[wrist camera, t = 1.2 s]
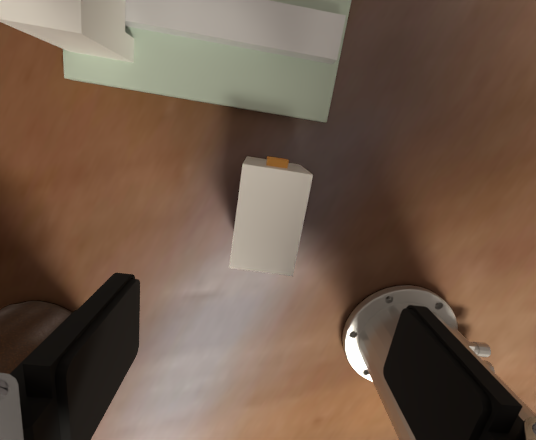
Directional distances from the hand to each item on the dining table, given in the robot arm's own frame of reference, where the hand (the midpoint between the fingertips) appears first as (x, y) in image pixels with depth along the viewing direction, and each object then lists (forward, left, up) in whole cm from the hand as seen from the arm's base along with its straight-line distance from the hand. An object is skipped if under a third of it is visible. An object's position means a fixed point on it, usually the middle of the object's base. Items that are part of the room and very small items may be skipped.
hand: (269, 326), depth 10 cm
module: (0, 0, -19) cm, 19 cm away
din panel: (+7, -14, -19) cm, 24 cm away
